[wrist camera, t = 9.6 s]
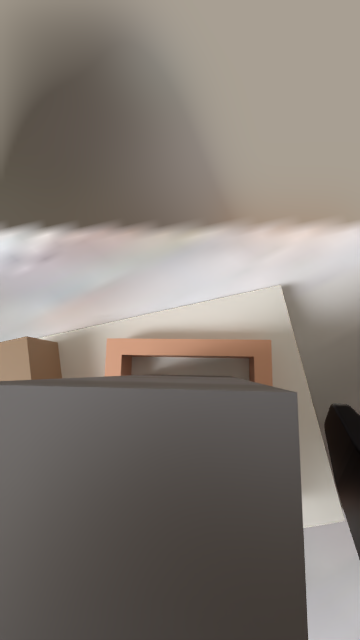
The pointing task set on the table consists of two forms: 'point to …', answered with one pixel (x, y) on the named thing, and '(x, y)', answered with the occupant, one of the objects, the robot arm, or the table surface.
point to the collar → (190, 353)
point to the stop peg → (150, 510)
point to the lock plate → (197, 368)
